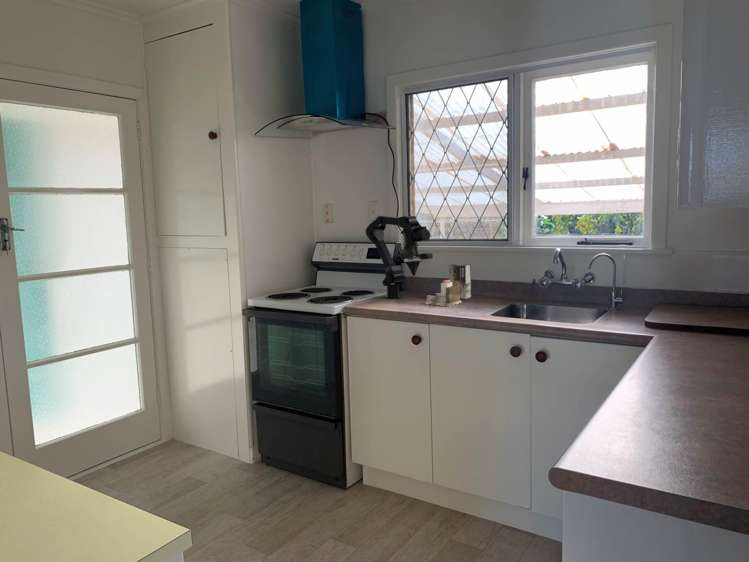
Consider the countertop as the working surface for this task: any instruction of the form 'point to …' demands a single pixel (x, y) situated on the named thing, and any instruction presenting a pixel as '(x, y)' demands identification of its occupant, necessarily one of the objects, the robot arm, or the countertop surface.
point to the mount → (450, 298)
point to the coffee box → (461, 278)
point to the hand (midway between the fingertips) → (414, 275)
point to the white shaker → (443, 287)
